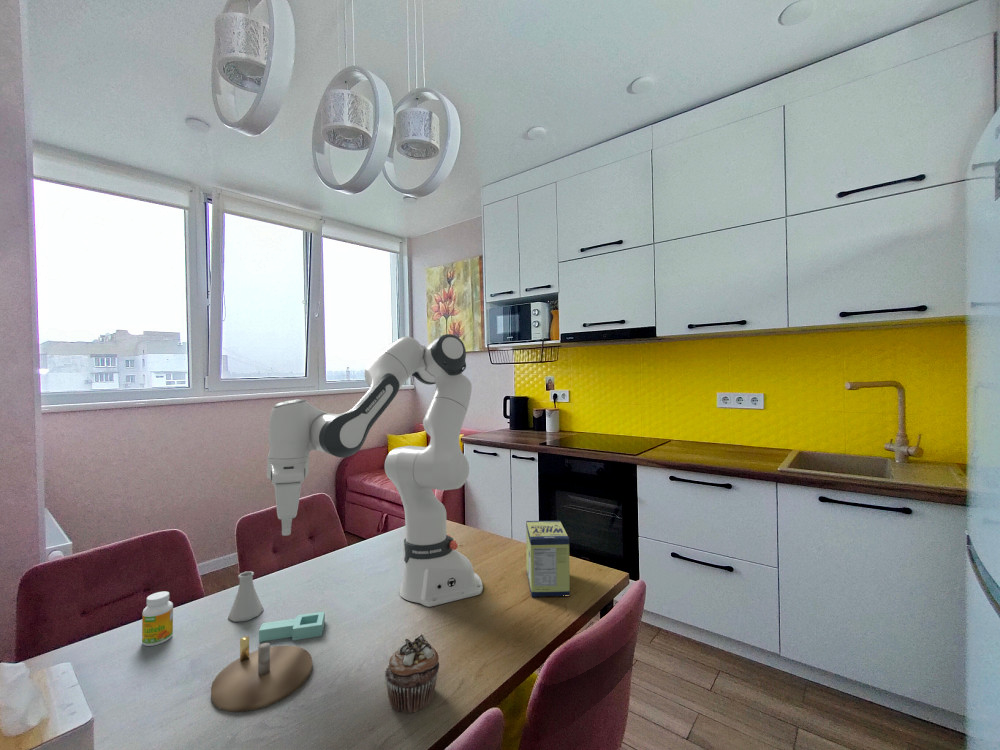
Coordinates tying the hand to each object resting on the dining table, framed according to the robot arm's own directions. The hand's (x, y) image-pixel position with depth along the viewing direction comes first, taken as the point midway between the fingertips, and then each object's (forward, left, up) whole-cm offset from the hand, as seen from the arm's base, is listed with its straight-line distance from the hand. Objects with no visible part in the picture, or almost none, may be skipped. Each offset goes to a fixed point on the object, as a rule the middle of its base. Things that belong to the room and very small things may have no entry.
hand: (286, 528), depth 101 cm
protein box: (-66, -3, -23) cm, 70 cm away
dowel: (+5, +12, -22) cm, 25 cm away
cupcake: (-26, +31, -23) cm, 47 cm away
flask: (+11, -9, -23) cm, 27 cm away
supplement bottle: (+27, -3, -23) cm, 35 cm away
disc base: (+1, +18, -23) cm, 29 cm away
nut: (-2, +3, -23) cm, 23 cm away
